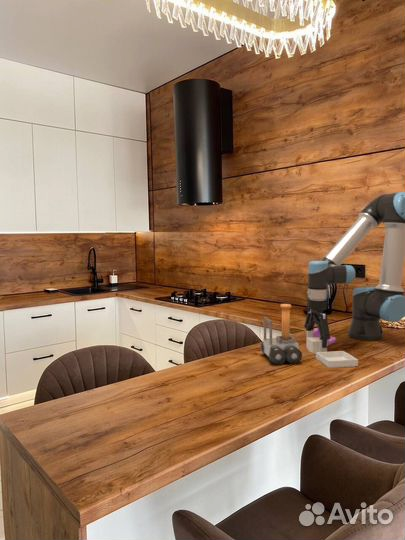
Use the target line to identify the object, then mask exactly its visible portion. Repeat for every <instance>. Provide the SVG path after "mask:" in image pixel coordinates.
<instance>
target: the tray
mask: <svg viewBox="0 0 405 540" xmlns="http://www.w3.org/2000/svg"><path fill="white" fill-rule="evenodd" d="M315 360H317V361H318V362H319V363H320V364H322V365H324V367H326V368H327V369H337V368H338V369H339V368H352V367H353V368H354V367H355V366H357V367H358V366H359V359H358V358H356V357H354V356H353V355H351V354H350V353H348V352H346V351H344V350H337V351H336V350H335V351H327V352H316V353H315ZM355 368H356V367H355Z"/></svg>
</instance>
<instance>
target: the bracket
mask: <svg viewBox="0 0 405 540" xmlns="http://www.w3.org/2000/svg"><path fill="white" fill-rule="evenodd" d="M312 331H313V337H321V336H320V333H319V329H318V327H317V328H313V330H312ZM336 342H337V338H336V337H334V336H330V339H328V340H327V347H328V346H331V345H332V344H333V343H336Z"/></svg>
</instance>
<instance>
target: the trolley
mask: <svg viewBox="0 0 405 540" xmlns="http://www.w3.org/2000/svg"><path fill="white" fill-rule="evenodd" d="M267 323H268V324H269V332H268V333H269V336H268V338H267ZM262 339H263V340H262V342H261V344H260V352H262V353H263V354H264V356H267V357H268V359H269V360H270V362H271V363H272V364H274V366H275V365H276V366H280V365H283V364H284V363H285V362H286V361H287V362H288V363H289V364H291V365H296V364H298V363H300V362H301V361H302V359H303V353H302V351H301V350H300V349H299V348H300V347H299V345H300V344H299V343H298V342H297V341H296V338H295V337H293V336H292V335H290V339H282V335H276V336H275V338H273V320H272V319H269V318H268V317H267V316H264V317H263V338H262Z"/></svg>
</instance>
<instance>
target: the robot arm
mask: <svg viewBox="0 0 405 540" xmlns="http://www.w3.org/2000/svg"><path fill="white" fill-rule="evenodd" d="M380 224H382V225H383V226H384V227H385V233H384V240H383V241H384V242H383V250H382V255H381V256H382V257H381V266H380V272H379V273H380V274H379V280H378V284H377V285H376V286H369V287H355V288H354V289H353V291H352V320H351V322H350V325H349V327H348V330H347V336H348V337H349V338H350V339H354V340H358V341H371V342H373V341H374V342H375V341H382V340H383V339H384V330H383V328H382V325H381V320H382V321H384V322H391V323H397V322H399V321H402V320H403V319H404V318H405V290H404V288H403V287H402V284H403V283H402V281H403V274H404V273H403V272H404V266H405V191H398V192H392V193H385V194H381V195H379V196H377V197H375V198H374V199H372V201H371V202H369V203H368V204H367V205H366V206H365V207H364V208H363V209H362V210H361V211H360V212H359V214H358V217H357V220H355V222H354V223H353V224H352V225H351V226H350V227H349V228H348V230H347V231H346V232H345V233H344V234H343V235H342V236H341V238H340V239H338V241H337V242H336V243H335V244H334V246H333V247H332V248H330V250H329V251H328V252H327V253H326V255H325V256H324V257H322V259H321V260H311V261H309V262H308V268H307V269H308V270H307V274H308V275H307V276H308V277H307V286H308V287H307V291H306V293H307V298H308V299H307V313H306V318H305V321H304V322H305V323H304V325H303V328H305V330H306V345H305V346H306V347H307V338H312V337H313V331H314V327H315V324H316V326H317V329H319V333H320V337H321V338H320V352H328V346H327V340H328V339H330V337H331V334H330V329H329V328H330V327H329V321H328V313H324V310H327V308H328V300H327V299H328V285H340V284H341V285H342V284H344V285H346V284H352V283H353V282H354V281H355V279H356V269H355V267H354V266H352V265H351V264H350V265H348V264H344V265H343V262H344V261H345V260H346V259H347V258H348V257H349V256H350V255H351V254H352V253H353V251H354V250H355V249H356V248H357V247H358V246H359V244H360V243H361V242H362V241H363V240H364V239H365V238H366V237H367V235H368V234H369V233H370V232H371V231H372V230H373V229H377V228H378V226H379V225H380Z"/></svg>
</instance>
